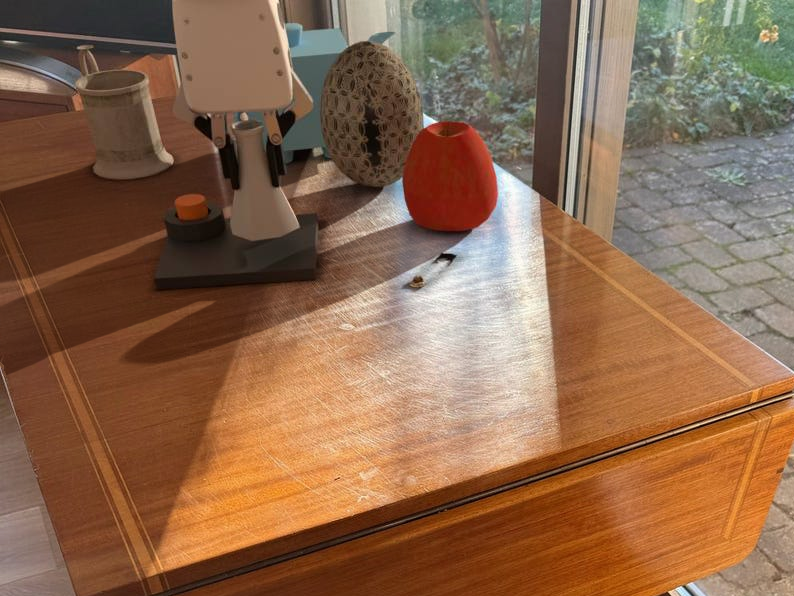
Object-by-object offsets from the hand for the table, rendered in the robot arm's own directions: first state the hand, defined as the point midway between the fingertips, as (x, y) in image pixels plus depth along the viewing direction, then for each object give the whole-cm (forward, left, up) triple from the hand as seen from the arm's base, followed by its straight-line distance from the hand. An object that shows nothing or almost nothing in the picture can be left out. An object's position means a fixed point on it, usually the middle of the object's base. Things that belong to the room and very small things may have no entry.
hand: (256, 182), depth 99 cm
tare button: (-8, +5, -5) cm, 10 cm away
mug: (-20, +31, -8) cm, 38 cm away
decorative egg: (+12, +18, -8) cm, 23 cm away
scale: (-3, 0, -7) cm, 8 cm away
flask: (0, 0, -5) cm, 5 cm away
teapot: (+5, +32, -8) cm, 33 cm away
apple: (+20, +5, -8) cm, 22 cm away
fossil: (+17, -7, -8) cm, 20 cm away
